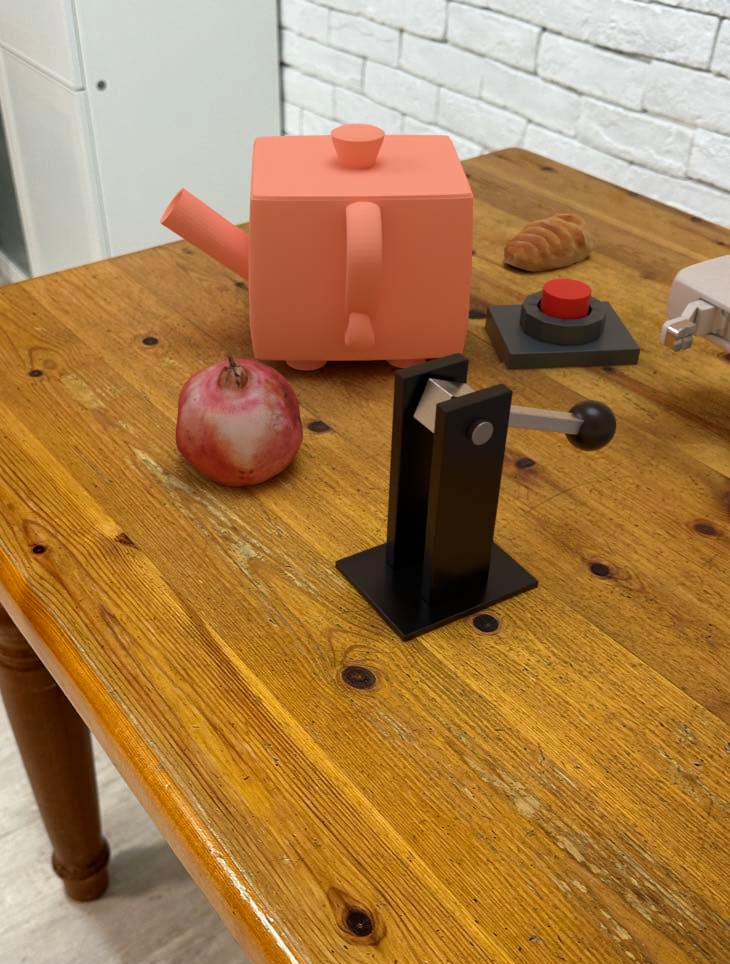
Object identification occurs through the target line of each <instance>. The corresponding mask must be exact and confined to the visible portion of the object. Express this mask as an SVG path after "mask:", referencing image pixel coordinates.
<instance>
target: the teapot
mask: <svg viewBox="0 0 730 964" xmlns="http://www.w3.org/2000/svg"><path fill="white" fill-rule="evenodd" d="M251 157H252V158H251V170H250V171H251V172H250V190H249V218H248V219H249V221H248V226H249V227H248V234H247V233H246V232H244V231H243V230H242V229H241V228H239V227H238V226H236V225H235V224H234V223H232V222H231V221H230V220H228V219H226V218H225V217H224V216H222V214H220V213H219V212H217V211H216V210H215V209H213V208H211V207H210V206H209V205H208V204H207V203H205V202H203V201H202V200H201V199H199V198H198V197H197V196H195V195H194V194H192V193H191V191H189V190H187V189H186V188H184V187H182V188H181V189H179V191H178V192H177V193H176V194H175V195H174V197H172V199H171V200H170V202H169V203H168V205H167V206H166V208H165V210H164V212H163V213H162V216H161V217H160V221H159V223H160V224H161V225H162V226H164V227H165V228H167V230H170V231H171V232H172V233H174V234H176V235H177V236H179V237H180V238H181V239H183V240H185V241H186V242H188V243H189V244H191V245H192V246H194V247H195V248H197V249H198V250H200V251H201V252H203V253H204V254H206V255H207V256H209V257H210V258H212V259H213V260H215V261H217V262H218V263H220V264H221V265H222V266H224V267H226V268H227V269H229V271H231V272H233V273H234V274H236V275H237V276H239V277H240V278H242V279H243V280H244V281H246V282H248V312H249V328H250V329H249V330H250V338H251V343H252V350H253V356H254V359H255V360H260V361H261V360H262V361H285V362H286V364H287V365H288V367H290V368H292V369H295V370H299V371H314V370H318V369H321V368H322V367H324V366H325V365H326V364H327V363H328V361H339V362H340V361H384V360H385V361H386V362H387V363H388V364H389V365H390V366H393V367H395V368H400V369H404V368H407V367H411V366H414V365H417V364H421V363H424V362H427V359H438V358H441V357H445V356H448V355H452V354H455V353H460V354H462V355H463V354H464V353H463V352H464V348H465V343H466V338H467V333H468V328H469V327H468V326H469V316H470V306H471V305H470V303H471V290H472V274H473V273H472V271H473V246H474V245H473V239H474V238H473V237H474V236H473V235H474V194H473V191H472V188H471V185H470V183H469V180H468V177H467V175H466V171H465V170H464V167H463V164H462V162H461V159H460V157H459V154H458V152H457V150H456V148H455V145H454V143H453V141H452V139H451V138H450V136H449V135H444V134H386V132H385V131H384V130H383V129H382V128H380V127H378V126H376V125H372V124H368V123H347V124H343V125H342V124H341V125H340V126H337V127H335V128H333V129H331V131H330V134H323V135H322V134H319V135H318V134H317V135H316V134H314V135H313V134H312V135H311V134H310V135H309V134H308V135H277V136H276V135H273V136H271V135H270V136H256V137H255V139H254V140H253V145H252V155H251Z"/></svg>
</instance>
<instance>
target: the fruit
mask: <svg viewBox="0 0 730 964" xmlns="http://www.w3.org/2000/svg"><path fill="white" fill-rule="evenodd" d="M226 354H227V357H226V358H223V359H222V360H219V361H216V362H213V363H211V364H209V365H207V366H205V367H204V368H202V369H200V370H197V371H195V372H194V373H193V374H192V375H191V376H190V377H189V378H188V379H187V380H186V382H185V383H184V385H182V387H181V389H180V391H179V393H178V400H177V417H176V424H175V443H176V444H175V445H176V448H177V450H178V451H179V453H180V454H181V455H182V457H183V458H184V460H185V461H186V462H187V463H188V464H189V465H191V466H192V467H193V468H194V469H195V470H196V471H197V472H198V473H200V474H201V475H202V476H204V477H206V478H208V480H210V481H212V482H213V483H216V484H218V485H220V486H224V487H232V488H239V487H246V486H247V487H249V486H256V485H259V484H261V483H263V482H265V481H267V480H269V479H271V478H273V477H275V476H276V475H278V474H280V473H281V472H283V471H284V470H285V469H286V468H287V467H288V466H289V465H290V464H291V463H292V462H293V461H294V460H295V458H296V457H297V454H298V452H299V450H300V448H301V445H302V443H303V439H304V430H303V426H302V425H303V424H302V419H301V410H300V401H299V397H298V396H297V394H296V391H295V389H294V388H293V386H292V385H291V384H290V382H289V381H288V380H287V378H285V377H284V376H283V374H281V373H280V372H279V371H278V370H277V369H275V368H273V367H272V366H269V365H267V364H265V363H263V362H261V361H259V360H258V359H255V358H251V357H248V356H247V357H246V356H233V355H232V353H231V351H227V352H226Z"/></svg>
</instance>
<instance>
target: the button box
mask: <svg viewBox="0 0 730 964" xmlns="http://www.w3.org/2000/svg"><path fill="white" fill-rule="evenodd" d="M542 291H543V289H542V290H539V291H537V292H534V293H530V294H528V295H527V296H526V297H525V299H524V300H523V302H522V303H521V304H498V305H497V304H496V305H495V304H494V305H493V304H492V305H487V307H486V314H485V315H486V316H485V326H484V329H485V331H486V332H487V335H488V337H489V339H490V341H491V343H492V346H493V348H494V350H495V352H496V354H497V357H498V360H499V362H500V363H501V364H502V363H504V364H505V367H506V369H507V370H508V371H512V370H515V371H516V370H535V369H536V370H537V369H539V370H541V369H560V368H561V369H562V368H587V367H588V368H589V367H608V366H609V367H611V366H613V367H614V366H635V365H638V362H639V359H640V353H641V347H640V346H639V344H638V343H637V341H636V340H635V338H634V337H633V336H632V334H631V333H630V331H629V330H628V328H627V327H626V325H625V324H624V322H623V321H622V319H621V318H620V316H619V315H618V314H617V312H616V310H615V309H614V307H613V306H612V305H611V303H610V301H608V300H607V301H606V300H605V301H604V300H603V301H602V300H600V299H599V298H596V297H594V296H592V295H591V298H590V304H589V310H588V314H587V316H586V317H583V318H581V319H566V320H564V319H559V318H554V317H550V316H548V315H546V314H544V313H542V312H541V310H540V306H541V298H542Z"/></svg>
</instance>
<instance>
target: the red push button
mask: <svg viewBox="0 0 730 964" xmlns="http://www.w3.org/2000/svg"><path fill="white" fill-rule="evenodd" d="M542 290H543V291H542ZM542 290H541V291H542V298H541V306H540V310H541V312H542V313H544V314H546V315H548V316H550V317H554V318H559V319H564V320H566V319H581V318H583V317H586V316H587V314H588V310H589V304H590V298H591V296H592V293H593V292H592V288H591V286H590V285H589V284H587V283H585V282H583V281H581V280H577V279H572V278H555V279H554V278H553V279H550V280H548V281H546V282H544V284H543V285H542Z"/></svg>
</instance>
